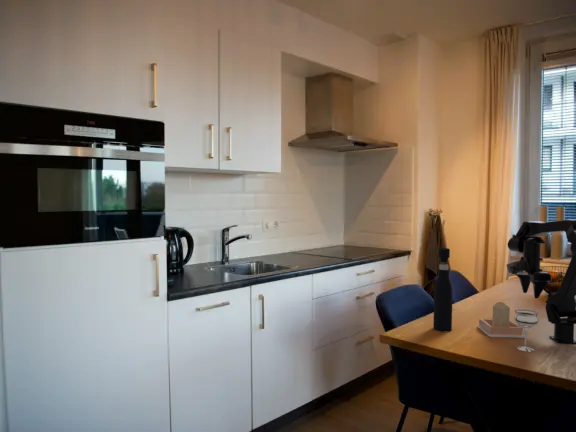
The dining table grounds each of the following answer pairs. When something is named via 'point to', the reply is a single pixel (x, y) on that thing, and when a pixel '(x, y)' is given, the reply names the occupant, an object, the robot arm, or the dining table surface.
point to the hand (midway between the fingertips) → (530, 295)
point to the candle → (501, 315)
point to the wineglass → (526, 324)
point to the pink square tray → (500, 329)
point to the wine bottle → (443, 294)
